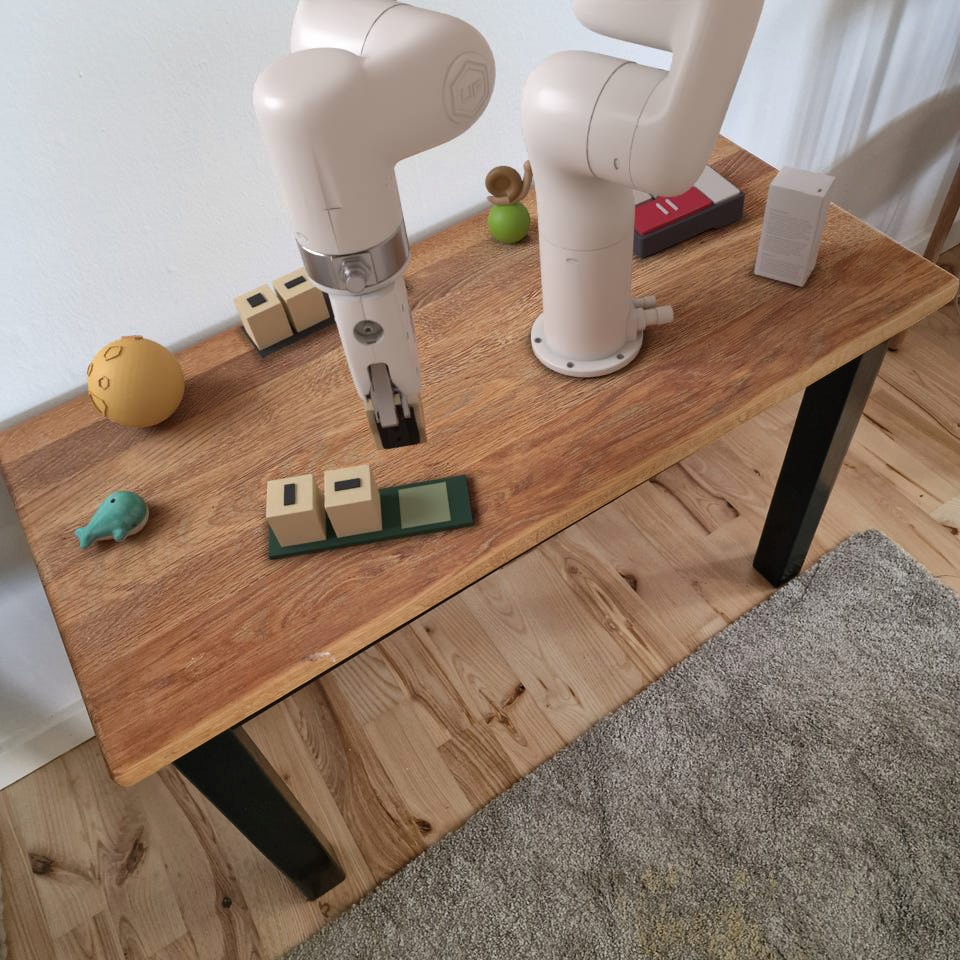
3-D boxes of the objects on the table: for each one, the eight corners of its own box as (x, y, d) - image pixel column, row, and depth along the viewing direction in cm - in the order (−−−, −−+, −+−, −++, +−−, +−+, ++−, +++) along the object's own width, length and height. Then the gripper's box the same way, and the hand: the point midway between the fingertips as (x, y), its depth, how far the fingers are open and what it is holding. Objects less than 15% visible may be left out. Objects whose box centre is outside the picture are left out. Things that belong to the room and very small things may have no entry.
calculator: (595, 191, 106) (695, 148, 108) (596, 219, 109) (694, 177, 111) (641, 234, 99) (747, 188, 101) (641, 263, 103) (743, 218, 105)
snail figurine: (539, 249, 105) (535, 164, 96) (489, 253, 106) (480, 168, 97) (538, 224, 109) (533, 139, 99) (490, 228, 109) (480, 144, 100)
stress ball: (201, 376, 97) (167, 310, 90) (194, 437, 91) (157, 372, 83) (117, 390, 97) (76, 325, 89) (105, 452, 91) (60, 389, 83)
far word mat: (382, 264, 107) (373, 226, 102) (409, 291, 103) (400, 252, 98) (241, 330, 102) (225, 293, 97) (263, 361, 98) (247, 324, 93)
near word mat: (466, 477, 84) (459, 440, 79) (473, 525, 80) (466, 489, 75) (271, 510, 84) (253, 475, 79) (270, 560, 80) (250, 525, 75)
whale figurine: (160, 530, 84) (144, 508, 81) (91, 567, 82) (72, 545, 79) (142, 493, 87) (126, 471, 84) (75, 528, 85) (56, 506, 82)
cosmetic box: (815, 267, 98) (838, 176, 88) (802, 288, 96) (825, 197, 86) (765, 254, 100) (783, 164, 91) (751, 274, 98) (768, 184, 89)
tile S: (423, 406, 74) (413, 363, 70) (427, 442, 71) (417, 400, 67) (374, 414, 74) (362, 372, 70) (376, 451, 71) (364, 409, 67)
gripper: (417, 314, 52) (453, 490, 66) (399, 172, 63) (433, 350, 77) (300, 333, 52) (361, 505, 66) (302, 188, 63) (354, 363, 77)
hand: (399, 421), depth 71 cm, fingers closed on tile S, 4 cm apart
